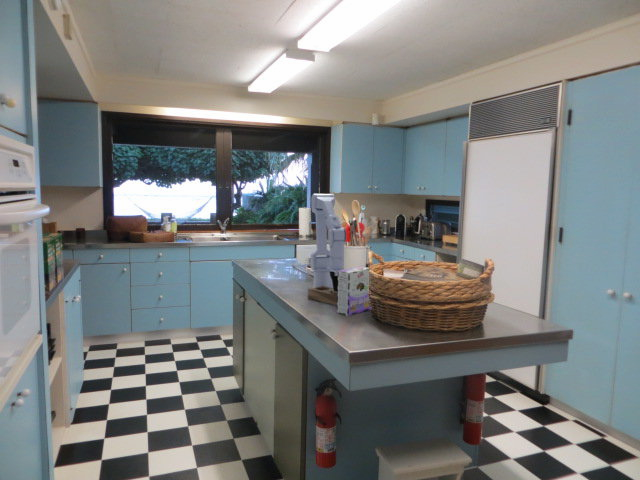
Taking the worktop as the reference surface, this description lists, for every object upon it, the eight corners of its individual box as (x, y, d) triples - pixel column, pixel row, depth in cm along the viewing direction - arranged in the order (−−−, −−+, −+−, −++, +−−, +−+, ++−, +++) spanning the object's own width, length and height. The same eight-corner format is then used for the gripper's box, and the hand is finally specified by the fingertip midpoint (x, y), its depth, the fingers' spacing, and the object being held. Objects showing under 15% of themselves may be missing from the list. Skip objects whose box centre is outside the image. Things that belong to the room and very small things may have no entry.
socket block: (322, 294, 203) (322, 285, 202) (350, 301, 192) (350, 291, 191) (308, 298, 196) (308, 288, 196) (335, 305, 185) (335, 295, 185)
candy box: (360, 306, 184) (361, 265, 182) (371, 309, 179) (372, 267, 178) (336, 313, 174) (337, 270, 172) (348, 316, 170) (348, 272, 168)
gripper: (326, 254, 196) (326, 285, 198) (327, 260, 182) (327, 293, 183) (343, 254, 196) (342, 286, 198) (345, 260, 182) (344, 293, 184)
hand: (336, 289), depth 191 cm, fingers open, 5 cm apart
